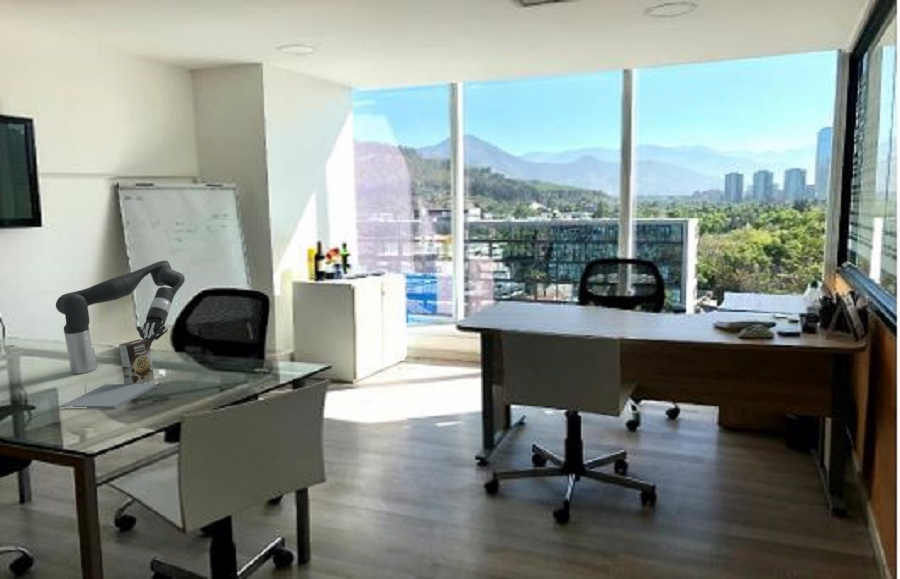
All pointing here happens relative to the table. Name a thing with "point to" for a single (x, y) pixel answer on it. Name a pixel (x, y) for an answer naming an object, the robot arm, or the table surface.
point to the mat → (110, 395)
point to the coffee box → (136, 362)
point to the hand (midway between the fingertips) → (145, 348)
